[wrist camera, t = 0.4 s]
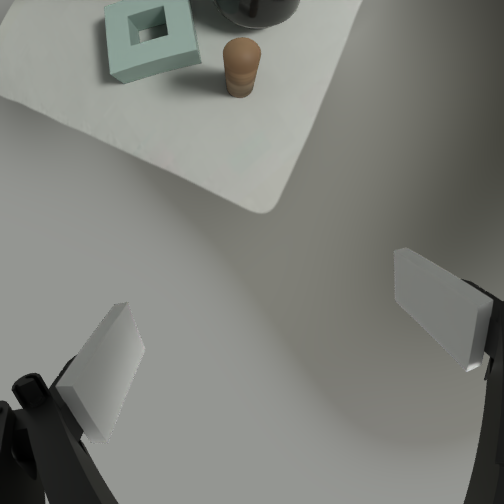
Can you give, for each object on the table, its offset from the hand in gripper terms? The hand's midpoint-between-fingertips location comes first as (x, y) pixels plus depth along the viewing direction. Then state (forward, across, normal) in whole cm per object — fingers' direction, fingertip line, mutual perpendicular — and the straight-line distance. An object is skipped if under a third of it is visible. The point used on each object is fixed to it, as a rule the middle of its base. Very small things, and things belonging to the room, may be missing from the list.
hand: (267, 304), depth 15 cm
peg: (+26, +2, +16) cm, 30 cm away
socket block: (+26, -7, +25) cm, 36 cm away
